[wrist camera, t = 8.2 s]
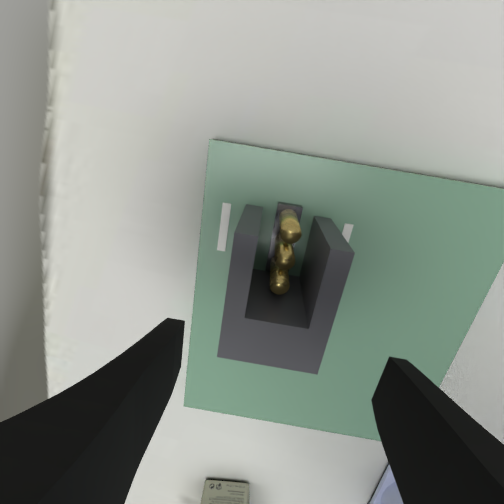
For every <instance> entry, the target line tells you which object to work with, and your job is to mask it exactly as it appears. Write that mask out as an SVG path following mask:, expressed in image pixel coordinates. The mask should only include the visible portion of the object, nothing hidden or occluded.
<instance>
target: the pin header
mask: <svg viewBox="0 0 504 504" xmlns="http://www.w3.org/2000/svg"><path fill="white" fill-rule="evenodd" d="M302 210H303V207H302V205H296V204H290V203H285V202H279V201H278V204H277V210H276V215H275V220H274V225H273V231H272V236H271V241H270V246H269V251H268V257H267V262H266V268H265V271H269V272H270V289H271V291H272V292H273V293H275V294H279V295H280V294H284V293H286V292H287V291H288V290H289V287H290V285H289V275H288V272H289V269H291V268H292V267H293V266H294V264H295V255H294V246H295V243H296V242H298V241H299V240H300V238H301V235H302V232H301V228H300V225H299V223H300V219H301V214H302Z"/></svg>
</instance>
